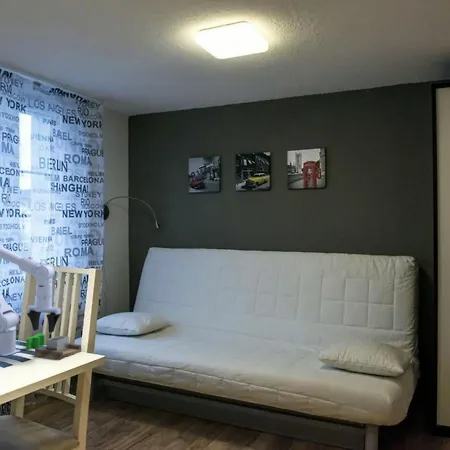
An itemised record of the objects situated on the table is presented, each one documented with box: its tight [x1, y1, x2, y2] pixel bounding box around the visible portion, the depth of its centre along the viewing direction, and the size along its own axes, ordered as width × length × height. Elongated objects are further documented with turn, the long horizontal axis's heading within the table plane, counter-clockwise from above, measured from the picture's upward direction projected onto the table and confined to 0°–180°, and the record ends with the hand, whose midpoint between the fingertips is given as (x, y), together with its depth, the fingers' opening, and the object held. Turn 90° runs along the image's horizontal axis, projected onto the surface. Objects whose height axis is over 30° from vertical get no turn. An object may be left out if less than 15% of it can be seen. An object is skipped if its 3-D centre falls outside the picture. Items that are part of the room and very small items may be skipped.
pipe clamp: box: [25, 332, 46, 351], centre depth 201 cm, size 11×4×5 cm, turn 173°
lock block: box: [46, 335, 70, 351], centre depth 190 cm, size 5×7×5 cm
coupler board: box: [33, 342, 82, 361], centre depth 191 cm, size 12×13×3 cm
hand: (43, 330), depth 188 cm, fingers open, 7 cm apart
